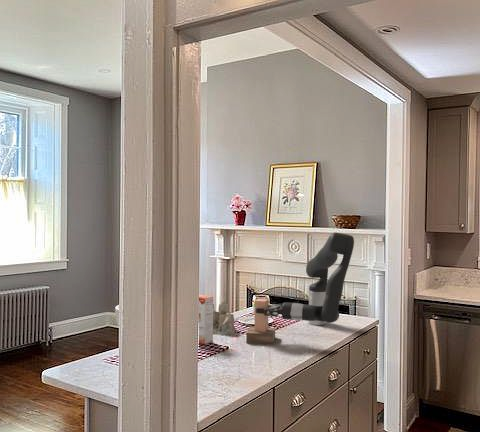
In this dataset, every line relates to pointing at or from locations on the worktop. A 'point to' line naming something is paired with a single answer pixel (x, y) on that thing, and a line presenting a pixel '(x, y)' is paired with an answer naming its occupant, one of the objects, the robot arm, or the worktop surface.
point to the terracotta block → (261, 316)
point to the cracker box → (205, 319)
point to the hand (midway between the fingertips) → (258, 308)
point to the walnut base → (260, 336)
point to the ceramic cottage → (223, 320)
